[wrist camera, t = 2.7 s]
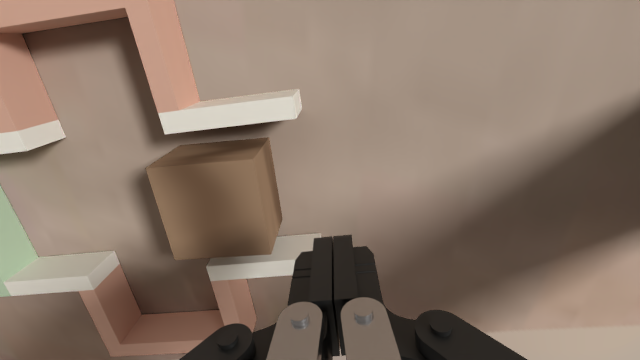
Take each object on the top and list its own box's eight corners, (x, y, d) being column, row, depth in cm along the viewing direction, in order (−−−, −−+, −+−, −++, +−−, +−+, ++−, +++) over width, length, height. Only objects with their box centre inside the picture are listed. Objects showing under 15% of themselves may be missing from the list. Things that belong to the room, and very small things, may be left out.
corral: (280, -34, 18) (270, -47, 15) (332, 313, 27) (332, 345, 24) (-101, 30, 20) (-171, 28, 17) (64, 330, 29) (35, 360, 26)
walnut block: (269, 136, 22) (253, 159, 18) (282, 217, 24) (271, 254, 20) (181, 144, 22) (145, 168, 18) (202, 223, 25) (174, 260, 20)
